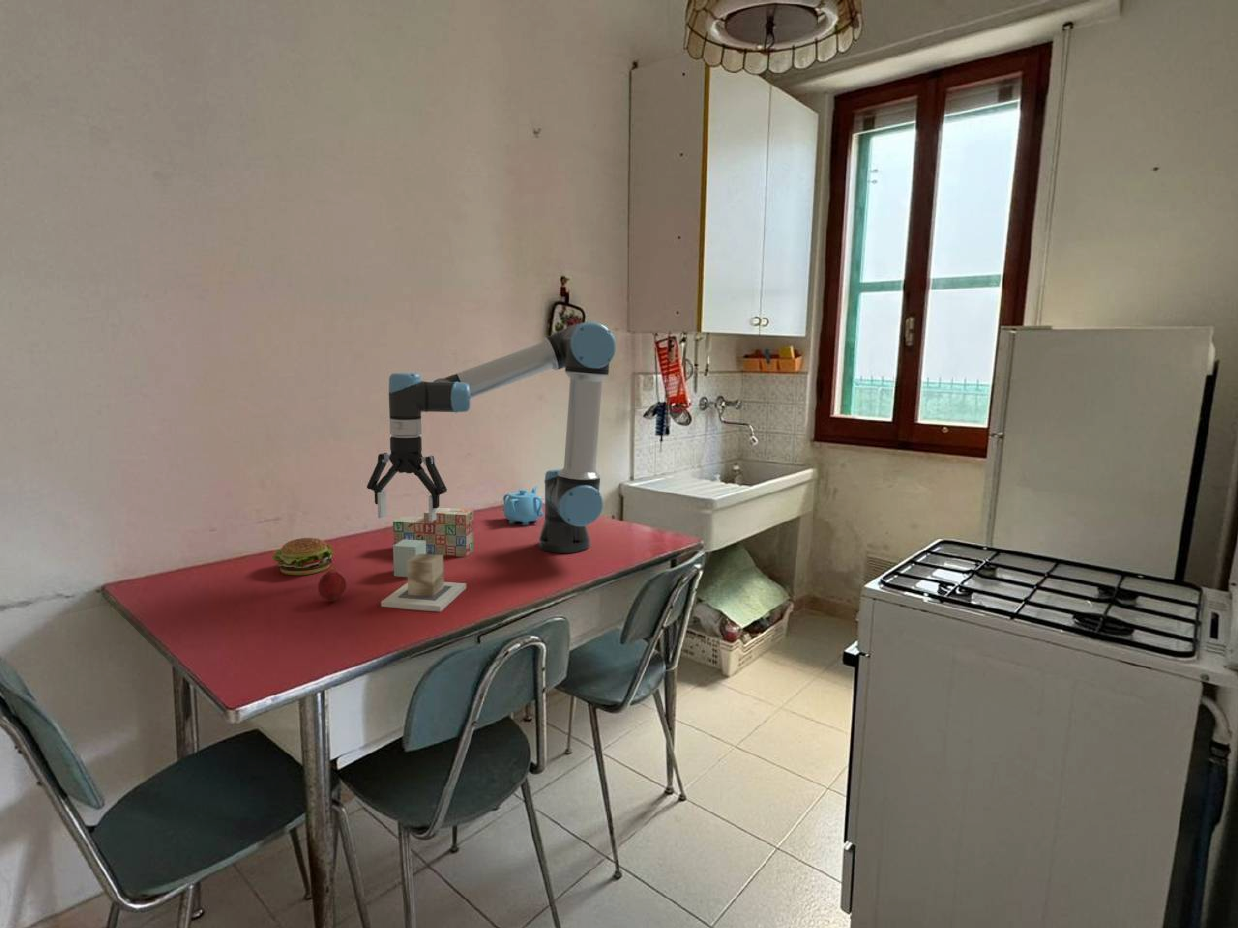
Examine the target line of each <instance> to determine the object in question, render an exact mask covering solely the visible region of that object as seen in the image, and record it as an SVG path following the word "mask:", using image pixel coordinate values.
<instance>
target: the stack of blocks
mask: <svg viewBox="0 0 1238 928" xmlns="http://www.w3.org/2000/svg"><path fill="white" fill-rule="evenodd" d="M392 529H393V530H392V532H393V545H395V544H397V543H399V542H400V541H402V540H404V539H407V540H422V541H426V554H433V555H443V556H447V557H463V558H465V557H466V558H467V557H468V556H469V555H470V554H471V553H472V552H473V551H474V510H473V509H463V508H455V507H453V508H449V507H448V508H447V507H442V508H441V507H438V508H436V520H434V521H433V522H429V509H428V510H426V511H424V512H423V517H421V516H405V515H404V516H403V515H402V516H399V517H398V518H396V519H394V521H392Z"/></svg>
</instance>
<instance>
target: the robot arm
mask: <svg viewBox="0 0 1238 928" xmlns="http://www.w3.org/2000/svg"><path fill="white" fill-rule="evenodd" d="M616 344H617V343H616V339H615V336H614V334H613V333H612V332H611V330H610V329H609V328H608V327H607V326H605V324H601V323H599V322H595V321H584V322H578V323H573V324H572V325H570V326H567V327H565V328H564V329H561V330H559V331H557V332H555V333H553V334H550V335H548V336H546V337H544V338H543V339H542V341H541V342H540V343H537V344H534V345H531V346H529V347H525V348H523V349H520V350H517V351H515V352H512V353H509V354H507V355H503V356H500V357H498V358H495V359H493V360H492V359H491V360H490V361H488V362H484V363H482V364H478V365H475V366H473V367H470V368H468V369H465V370H463V371H459V372H457V373H455V374H451V375H449V376H446V377H441V378H437V379H435V380H433V381H423V380H422V378H421V375H420V374H419V373H414V372H413V373H412V372H394V373H391V374H390V375H389V377H388V408H389V409H388V411H389V412H388V413H389V414H388V415H389V435H391V436H390V437H389V450H390V454H388V453H387V452H382V453H379V454H378V456H377V464H376V465H375V468H374V470H373V472H372V473H371V476H370V478H369V481H368V483H367V485H366V489H367V490H371V491H373V492H374V504H375V505H377V515H378V519H382V518H384V517H386V516H387V496H386V495H387V491H386V490H384V488H385V487H386V486H387V485H388V483H389V482H390V481H391V480H392V478H393V477H394V476H395V475H396V474H397V473H399V474H402V473H405V474H414V475H415V476H416V477H417V478H418V479H419V480H420V482H421V484H423V486H424V487H425V488H426V490H427V491H428V492H429V493H430V495H429V496H428V510H429V522H433V521H434V520H436V508H440V506H441V505H440V495H442V494H445V493H447V491H448V489H447V487H446V484H445V482H444V480H443V478H442V476H441V475H440V473H439V471H438V468H437V466H436V464H435V457H434V455H429V456H423V455H422V449H423V447H422V444H423V443H422V441H423V440H422V438H423V437H422V436H420V435H421V434H422V412H423V413H424V412H425V413H428V412H431V413H432V412H434V413H435V412H436V413H464V412H469V410H470V407H471V399H473V398H474V397H475V398H476V397H478V396H481V395H483V394H486V393H489V392H491V391H493V390H496V389H499V388H502V387H505V386H507V385H510V384H512V383H515V382H518V381H522V380H523V379H526V378H529V377H532V376H534V375H537V374H539V373H542V372H546V371H549V370H551V369H552V370H554V371H558V370H561V369H564V368H565V369H564V373H565V374H566V375H567V377H568V378H569V389H568V390H569V391H568V403H567V404H568V405H567V419H566V430H565V433H566V434H565V444H564V445H565V447H564V461H563V468H561V469H559V468H558V469H557V468H556V469H549V470H547V471H546V472H545V473H544V480H543V481H544V522H543V525H542V529H541V532H540V534H539V538H538V547H539V549H541V550H543V551H546V552H550V553H559V554H564V553H565V554H566V553H567V554H569V553H578V552H582V551H585V550H587V549H589V548H590V547H591V536H590V533H589V531H588V527H587V526H588V525H591V524H592V523H594V522H595V521H596V520H598V518H599V517H600V516H601V513H602V511H603V508H604V501H603V496H602V494H601V491H600V482H601V475H600V474H599V473H598V471H597V470H596V466H597V454H598V453H597V452H598V441H599V440H598V439H599V427H600V426H599V425H600V416H601V415H600V414H601V404H602V403H601V402H602V390H603V389H602V388H603V381H604V380H606V378H608V377H609V374H610V373H609V370H610V363H611V362H612V360H613V359H614V356H615V354H616V349H617V345H616ZM388 462H390V463H391V466H390V467H389V469H388V471H387V472H386V473H385V475H384V476H383V477H382V478H381V476H382V474H383V471H384V469H385V468H386V466H387V463H388ZM422 463H423V465H425V466H426V467H425V468H426V469H427V471H428V474H429V475H430V477H429V476H428V474H427V473H426V472H425V468H423V466H422ZM380 478H381V479H380Z"/></svg>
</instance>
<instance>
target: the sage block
mask: <svg viewBox="0 0 1238 928" xmlns="http://www.w3.org/2000/svg"><path fill="white" fill-rule="evenodd" d="M392 554H393V556H392V557H393V576H394V577H400V578H401V577H402V578H408V572H407V561H408V560H410V559H411V558H413V557H414V556H416V555H417V554H426V541H422V540H407V539H404V540H402V541H400V542H399V543H397V544H395V545H394V544H393V545H392Z"/></svg>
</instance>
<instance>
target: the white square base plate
mask: <svg viewBox="0 0 1238 928" xmlns="http://www.w3.org/2000/svg"><path fill="white" fill-rule="evenodd" d="M466 589H467V583H466V582H454V581H444V588H443V589H442V590H440V591H439V592H438V593H437V594H436V595H435V596H433V597H430V596H417V595H408V581H407V582H406V583H404V584H403V585H402V586H401V587H399V588H397V590H395V591H394V592H392V593H391V594H389V595H388V596H387V597H385V598H384V599H383V600H381V602H380V605H381V606H380V607H381V608H382V607H383V608H394V609H406V610H415V611H416V610H418V611H426V612H427V611H428V612H429V611H430V612H442V611H443V610H444V609H445V608H447V606H449V604H451V603H452V602H453V601H454V600H455V599H456V598H457V597H458V596H459V595H461V594H462V593H463V592H464V591H465V590H466Z"/></svg>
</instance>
